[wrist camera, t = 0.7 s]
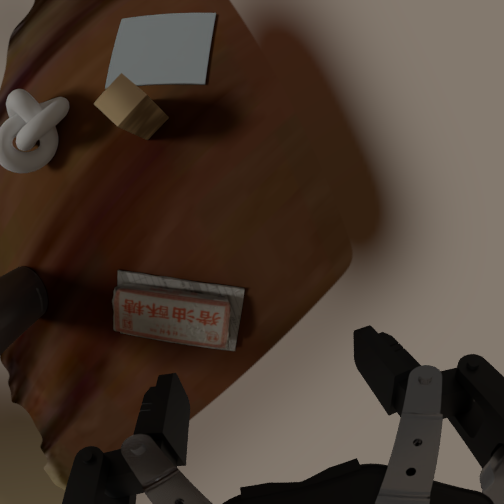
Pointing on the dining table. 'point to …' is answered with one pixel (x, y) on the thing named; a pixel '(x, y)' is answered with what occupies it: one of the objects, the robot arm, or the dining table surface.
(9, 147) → the white decorative knot
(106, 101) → the oak block
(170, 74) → the felt mat
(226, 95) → the dining table surface
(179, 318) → the packaged product
